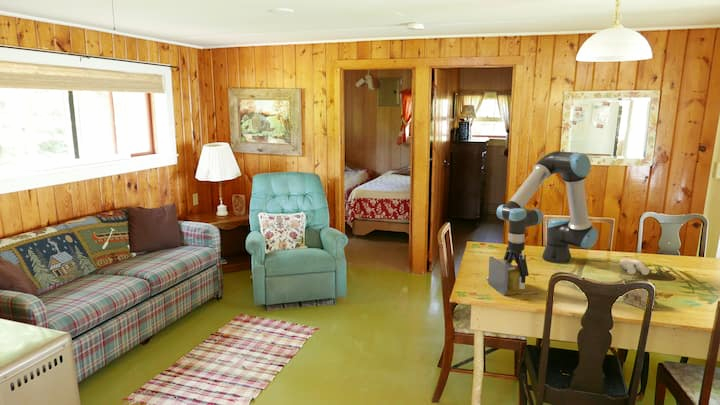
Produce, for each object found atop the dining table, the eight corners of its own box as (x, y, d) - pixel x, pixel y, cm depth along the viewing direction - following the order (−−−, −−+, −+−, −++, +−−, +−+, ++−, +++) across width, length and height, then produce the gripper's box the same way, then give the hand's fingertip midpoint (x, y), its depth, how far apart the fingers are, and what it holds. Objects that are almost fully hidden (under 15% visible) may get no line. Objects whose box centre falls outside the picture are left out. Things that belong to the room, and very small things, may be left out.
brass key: (495, 275, 256) (496, 274, 256) (500, 277, 254) (500, 275, 253) (484, 279, 252) (484, 277, 252) (489, 281, 249) (489, 279, 249)
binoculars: (627, 274, 256) (628, 266, 255) (617, 264, 272) (618, 256, 271) (649, 275, 255) (650, 267, 254) (637, 265, 270) (638, 257, 269)
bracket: (519, 280, 250) (521, 253, 247) (538, 293, 233) (540, 264, 230) (487, 283, 246) (488, 256, 243) (504, 296, 230) (506, 267, 227)
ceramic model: (662, 304, 218) (664, 283, 216) (654, 312, 211) (656, 290, 209) (627, 296, 228) (629, 275, 226) (618, 303, 221) (621, 282, 219)
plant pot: (526, 292, 234) (527, 272, 232) (503, 291, 236) (504, 271, 234) (523, 284, 244) (524, 265, 242) (502, 283, 246) (502, 264, 244)
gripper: (496, 234, 246) (495, 275, 251) (522, 249, 222) (520, 294, 227) (510, 233, 248) (508, 274, 252) (538, 248, 224) (535, 292, 228)
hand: (514, 283), depth 239 cm, fingers open, 13 cm apart
